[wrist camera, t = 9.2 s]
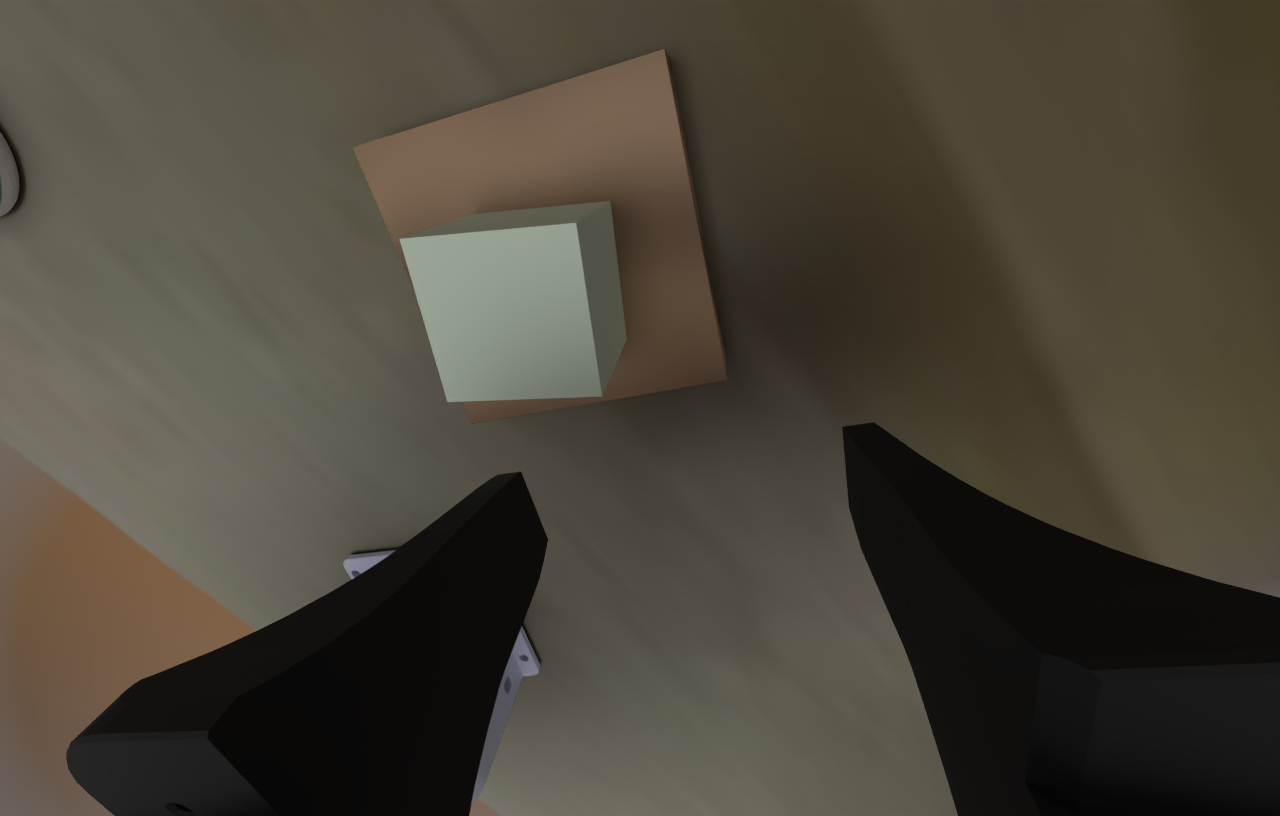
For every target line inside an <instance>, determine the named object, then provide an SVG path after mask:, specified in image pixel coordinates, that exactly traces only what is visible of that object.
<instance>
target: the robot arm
mask: <svg viewBox="0 0 1280 816" xmlns="http://www.w3.org/2000/svg"><path fill="white" fill-rule="evenodd" d="M842 428H843V440H844V452H845V464H846V476H847V488H848V500H849V508H850V512H851V515H852V519H853V522H854V526H855V529H856V533H857V536H858V540H859V543H860V546H861V549H862V552H863V554H864V556H865V559H866V561H867V563H868V566H869V568H870V570H871V573H872V575H873V577H874V580H875V582H876V584H877V586H878V589H879V591H880V593H881V596H882V598H883V600H884V602H885V605H886V607H887V609H888V612H889V614H890V616H891V618H892V621H893V623H894V625H895V627H896V630H897V632H898V634H899V637H900V639H901V641H902V643H903V646H904V648H905V651H906V654H907V656H908V659H909V661H910V664H911V667H912V669H913V673H914V676H915V679H916V682H917V685H918V688H919V691H920V694H921V697H922V700H923V703H924V707H925V710H926V713H927V716H928V719H929V722H930V725H931V729H932V732H933V735H934V738H935V741H936V745H937V748H938V751H939V754H940V757H941V761H942V764H943V767H944V770H945V774H946V777H947V780H948V783H949V787H950V790H951V793H952V797H953V800H954V803H955V807H956V810H957V814H958V816H1280V598H1279V597H1275V596H1271V595H1267V594H1263V593H1259V592H1255V591H1251V590H1248V589H1244V588H1240V587H1236V586H1232V585H1228V584H1224V583H1220V582H1216V581H1213V580H1209V579H1206V578H1202V577H1199V576H1196V575H1192V574H1189V573H1186V572H1183V571H1179V570H1176V569H1173V568H1170V567H1166V566H1163V565H1160V564H1157V563H1153V562H1150V561H1147V560H1144V559H1141V558H1138V557H1135V556H1132V555H1129V554H1126V553H1123V552H1120V551H1117V550H1114V549H1112V548H1109V547H1106V546H1104V545H1101V544H1098V543H1096V542H1093V541H1090V540H1088V539H1085V538H1083V537H1080V536H1077V535H1075V534H1072V533H1069V532H1067V531H1064V530H1062V529H1060V528H1057V527H1055V526H1052V525H1050V524H1047V523H1045V522H1043V521H1041V520H1038V519H1036V518H1034V517H1032V516H1030V515H1028V514H1025V513H1023V512H1021V511H1019V510H1017V509H1015V508H1012V507H1010V506H1008V505H1006V504H1004V503H1002V502H1000V501H998V500H996V499H994V498H992V497H990V496H988V495H986V494H985V493H983V492H981V491H979V490H977V489H976V488H974V487H972V486H970V485H968V484H967V483H965V482H963V481H961V480H960V479H958V478H956V477H954V476H953V475H951V474H949V473H948V472H946V471H945V470H943V469H941V468H940V467H938V466H937V465H935V464H933V463H932V462H930V461H929V460H927V459H926V458H924V457H923V456H921V455H920V454H918V453H917V452H915V451H914V450H912V449H911V448H909V447H908V446H907V445H905V444H904V443H902V442H901V441H900V440H898V439H897V438H895V437H894V436H892V435H891V434H890V433H888V432H887V431H885V430H884V429H883V428H881V427H880V426H878V425H877V424H875V423H866V424H859V425H852V426H845V427H842ZM547 542H548V538H547V536H546V533H545V531H544V528H543V526H542V523H541V521H540V518H539V516H538V513H537V511H536V508H535V506H534V503H533V501H532V498H531V495H530V493H529V490H528V488H527V485H526V483H525V480H524V478H523V475H522V473H521V472H515V473H508V474H501V475H497V476H495V477H493V478H492V479H490V480H489V481H487V482H486V483H484V484H483V485H481V486H480V487H479V488H477V489H476V490H475V491H473V492H472V493H471V494H469V495H468V496H467V497H465V498H464V499H463V500H462V501H460V502H459V503H458V504H457V505H455V506H454V507H453V508H451V509H450V510H449V511H448V512H446V513H445V514H444V515H442V516H441V517H440V518H439V519H437V520H436V521H435V522H433V523H432V524H431V525H430V526H428V527H427V528H426V529H424V530H423V531H422V532H420V533H419V534H417V535H416V536H415V537H413V538H412V539H411V540H409V541H408V542H406V543H405V544H404V545H402V546H401V547H400V548H398V549H397V550H391V551H382V552H373V553H364V554H355V555H350V556H348V557H347V558H346V559H345V561H344V562H343V566H344V568H345V570H346V571H347V573H348V574H349V576H350V578H351V579H352V580H350V581H349V582H347V583H345V584H344V585H342V586H340V587H339V588H337V589H335V590H334V591H332V592H330V593H328V594H326V595H325V596H323V597H321V598H319V599H317V600H316V601H314V602H312V603H310V604H308V605H306V606H305V607H303V608H301V609H299V610H297V611H295V612H294V613H292V614H290V615H288V616H286V617H284V618H282V619H280V620H278V621H276V622H274V623H272V624H270V625H268V626H266V627H264V628H262V629H260V630H258V631H256V632H254V633H251V634H249V635H247V636H245V637H243V638H241V639H239V640H236V641H234V642H232V643H230V644H228V645H225V646H223V647H221V648H219V649H216V650H214V651H212V652H209V653H207V654H205V655H202V656H199V657H197V658H194V659H192V660H189V661H187V662H184V663H182V664H180V665H177V666H175V667H172V668H170V669H167V670H165V671H162V672H160V673H157V674H155V675H152V676H149V677H147V678H144V679H142V680H140V681H138V682H137V683H135V684H134V685H132V686H131V687H130V688H128V689H127V690H126V691H125V692H124V693H123V694H122V695H120V696H119V698H117V699H116V700H115V701H114V702H113V703H112V704H111V705H110V706H109V707H108V708H107V709H106V710H105V711H104V712H103V713H102V714H100V716H98V717H97V718H96V719H95V720H94V721H93V722H92V723H91V724H90V725H89V726H88V727H87V728H86V729H85V730H84V731H83V732H81V734H79V735H78V736H77V737H76V738H75V739H74V740H73V741H72V742H71V743H70V746H69V748H68V750H67V757H66V759H67V764H68V768H69V771H70V772H71V774H72V775H73V777H74V778H75V780H76V782H77V783H78V784H79V785H80V786H82V787H83V788H84V789H85V790H86V791H87V792H88V793H89V794H90V795H91V796H92V797H93V798H95V799H96V800H97V801H98V802H99V803H100V804H102V805H103V806H104V807H105V808H106V809H107V810H109V811H110V812H111V813H112V814H113V815H115V816H469V813H470V808H471V806H472V804H473V803H474V802H475V800H476V799H477V797H478V796H479V794H480V792H481V790H482V788H483V786H484V784H485V782H486V780H487V777H488V774H489V771H490V769H491V766H492V763H493V760H494V757H495V754H496V751H497V749H498V746H499V743H500V740H501V737H502V734H503V731H504V729H505V726H506V723H507V720H508V717H509V714H510V712H511V709H512V706H513V703H514V700H515V697H516V694H517V692H518V689H519V686H520V683H521V680H522V677H523V676H534V675H537V674H538V672H539V670H540V663H539V661H538V659H537V657H536V655H535V653H534V651H533V648H532V646H531V644H530V642H529V640H528V638H527V636H526V633H525V631H524V629H523V627H522V624H523V621H524V619H525V616H526V614H527V611H528V608H529V606H530V603H531V600H532V597H533V595H534V592H535V589H536V587H537V584H538V581H539V578H540V574H541V570H542V566H543V561H544V557H545V552H546V547H547Z"/></svg>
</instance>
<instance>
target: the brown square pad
mask: <svg viewBox="0 0 1280 816" xmlns="http://www.w3.org/2000/svg"><path fill="white" fill-rule="evenodd" d="M353 150H354V152H355V154H356V157H357V159H358V161H359V164H360V166H361V168H362V170H363V173H364V175H365V177H366V180H367V182H368V184H369V187H370V189H371V191H372V194H373V196H374V198H375V201H376V203H377V205H378V208H379V210H380V212H381V215H382V217H383V219H384V221H385V224H386V226H387V228H388V231H389V233H390V235H391V238H392V240H393V242H394V245H395V247H396V249H397V252H398V254H399V256H400V259H401V261H402V263H403V266H404V268H405V270H406V272H407V275H408V277H409V279H410V282H411V284H412V286H413V283H412V280H411V276H410V273H409V270H408V266H407V263H406V260H405V256H404V253H403V249H402V246H401V243H400V239H401V238H404V237H406V236H409V235H412V234H415V233H418V232H421V231H424V230H427V229H430V228H433V227H436V226H439V225H442V224H445V223H448V222H451V221H454V220H457V219H460V218H463V217H466V216H469V215H472V214H479V213H489V212H499V211H510V210H520V209H530V208H541V207H551V206H561V205H572V204H582V203H592V202H603V201H611V210H612V218H613V226H614V235H615V243H616V252H617V260H618V269H619V277H620V285H621V294H622V302H623V311H624V319H625V327H626V336H627V340H626V343H625V345H624V347H623V349H622V352H621V354H620V356H619V359H618V361H617V363H616V366H615V368H614V370H613V372H612V375H611V377H610V379H609V382H608V384H607V386H606V389H605V391H604V393H603V395H602V397H576V398H548V399H520V400H493V401H465V402H463V405H464V407H465V409H466V412H467V414H468V416H469V419H470V421H471V423H472V424H475V423H481V422H487V421H493V420H499V419H504V418H510V417H516V416H522V415H528V414H534V413H539V412H545V411H551V410H557V409H563V408H568V407H574V406H580V405H586V404H592V403H598V402H603V401H609V400H615V399H621V398H627V397H632V396H638V395H644V394H650V393H656V392H662V391H667V390H673V389H679V388H685V387H691V386H696V385H702V384H708V383H714V382H720V381H726V380H727V366H726V356H725V351H724V345H723V340H722V335H721V329H720V324H719V319H718V313H717V308H716V303H715V298H714V292H713V287H712V282H711V276H710V271H709V266H708V260H707V255H706V250H705V244H704V239H703V234H702V228H701V223H700V218H699V212H698V207H697V202H696V196H695V191H694V186H693V181H692V175H691V170H690V165H689V159H688V154H687V149H686V143H685V138H684V133H683V127H682V122H681V117H680V111H679V106H678V101H677V95H676V90H675V85H674V80H673V74H672V69H671V64H670V58H669V56H668V55H667V53H666V51H665V49H663V50H660V51H656V52H653V53H650V54H647V55H644V56H641V57H637V58H634V59H631V60H628V61H625V62H622V63H618V64H615V65H612V66H609V67H606V68H603V69H599V70H596V71H593V72H590V73H587V74H584V75H580V76H577V77H574V78H571V79H568V80H565V81H561V82H558V83H555V84H552V85H549V86H546V87H542V88H539V89H536V90H533V91H530V92H527V93H523V94H520V95H517V96H514V97H511V98H508V99H504V100H501V101H498V102H495V103H492V104H489V105H485V106H482V107H479V108H476V109H473V110H470V111H466V112H463V113H460V114H457V115H454V116H451V117H447V118H444V119H441V120H438V121H435V122H432V123H428V124H425V125H422V126H419V127H416V128H413V129H409V130H406V131H403V132H400V133H397V134H394V135H390V136H387V137H384V138H381V139H378V140H374V141H371V142H368V143H365V144H362V145H359V146H355V147H353ZM413 289H414V287H413ZM414 291H415V290H414Z"/></svg>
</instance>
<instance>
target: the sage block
mask: <svg viewBox="0 0 1280 816" xmlns="http://www.w3.org/2000/svg"><path fill="white" fill-rule="evenodd" d="M400 243H401V246H402V249H403V253H404V256H405V260H406V263H407V266H408V270H409V273H410V276H411V280H412V283H413V287H414V290H415V293H416V297H417V300H418V304H419V307H420V310H421V314H422V317H423V320H424V324H425V327H426V331H427V334H428V337H429V341H430V344H431V347H432V351H433V354H434V358H435V361H436V364H437V368H438V371H439V374H440V378H441V381H442V385H443V388H444V391H445V395H446V398H447V402H465V401H493V400H520V399H548V398H576V397H602V395H603V393H604V391H605V389H606V386H607V384H608V382H609V379H610V377H611V375H612V372H613V370H614V368H615V366H616V363H617V361H618V359H619V356H620V354H621V352H622V349H623V347H624V345H625V343H626V340H627V336H626V327H625V319H624V311H623V302H622V294H621V285H620V277H619V269H618V260H617V252H616V243H615V235H614V226H613V218H612V210H611V201H603V202H592V203H582V204H572V205H561V206H551V207H541V208H530V209H520V210H510V211H499V212H489V213H479V214H472V215H469V216H466V217H463V218H460V219H457V220H454V221H451V222H448V223H445V224H442V225H439V226H436V227H433V228H430V229H427V230H424V231H421V232H418V233H415V234H412V235H409V236H406V237H404V238H401V239H400Z"/></svg>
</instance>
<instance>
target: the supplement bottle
mask: <svg viewBox="0 0 1280 816" xmlns="http://www.w3.org/2000/svg"><path fill="white" fill-rule="evenodd" d="M18 194H19V175H18V170H17V166H16V163H15V160H14V157H13V154H12V152H11V150H10V148H9V146H8V144H7V142H6V140H5V139H4V137H3V135H2V133H1V132H0V217H1V216H3V215H5V214H7V213H8V212H9V211H10V210H11V209H12V207H13V206H14V204H15V203H16V201H17V198H18Z"/></svg>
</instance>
